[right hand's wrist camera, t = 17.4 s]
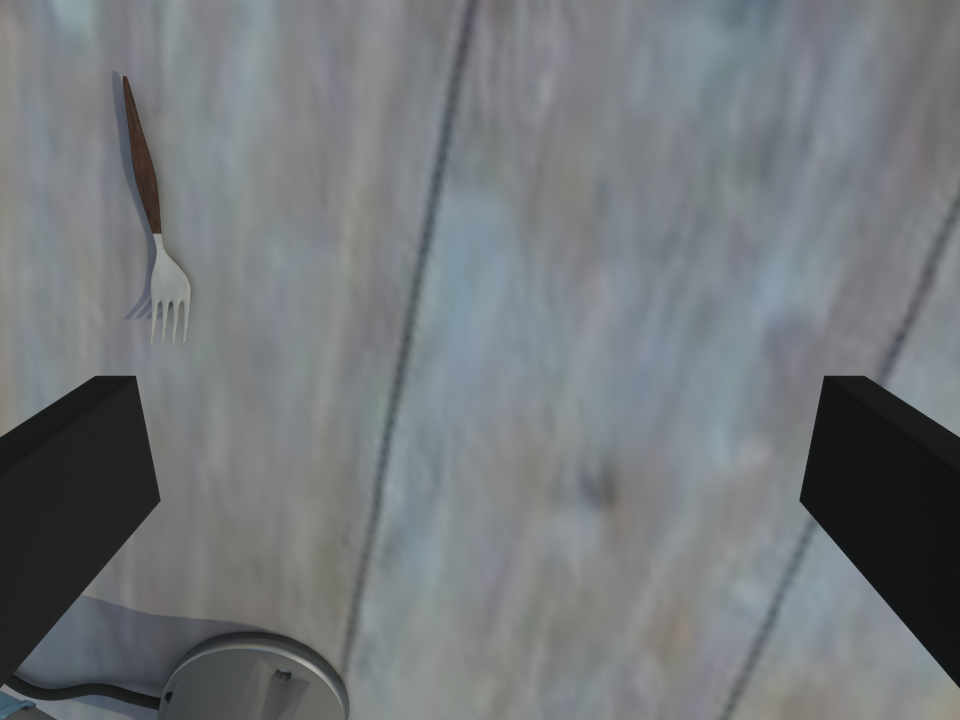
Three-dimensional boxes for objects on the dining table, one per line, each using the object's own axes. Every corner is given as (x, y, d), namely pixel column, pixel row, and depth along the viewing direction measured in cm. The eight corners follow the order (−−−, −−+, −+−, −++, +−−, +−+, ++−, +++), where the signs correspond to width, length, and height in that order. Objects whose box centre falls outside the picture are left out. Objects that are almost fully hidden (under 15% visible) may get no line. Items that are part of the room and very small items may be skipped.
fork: (151, 76, 38) (134, 73, 36) (200, 333, 43) (187, 343, 41) (107, 77, 38) (87, 75, 36) (161, 334, 43) (147, 344, 41)
